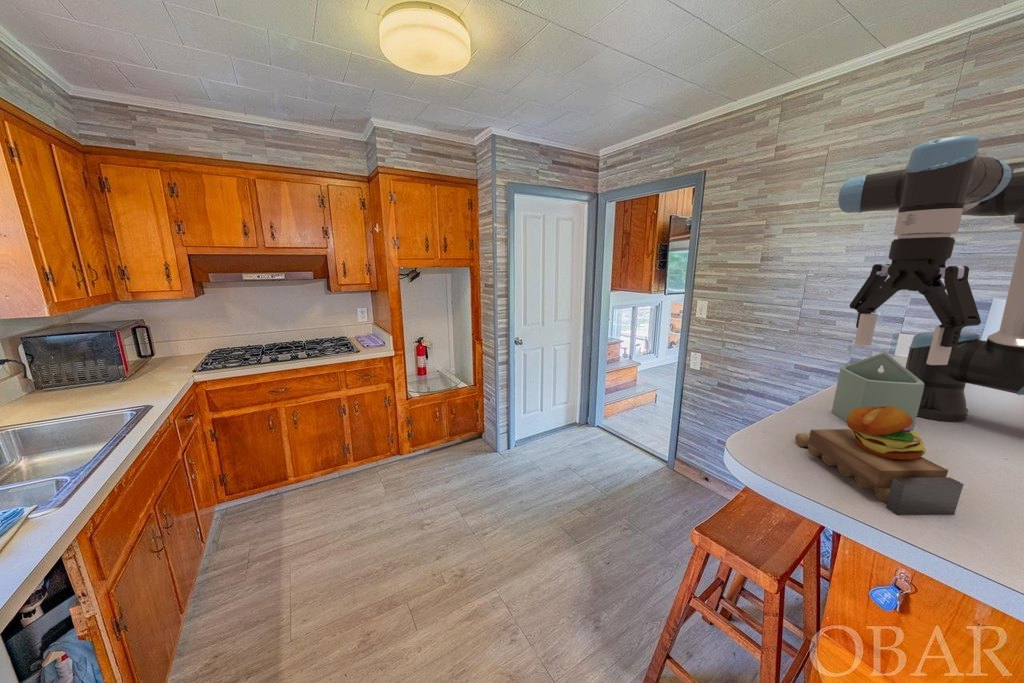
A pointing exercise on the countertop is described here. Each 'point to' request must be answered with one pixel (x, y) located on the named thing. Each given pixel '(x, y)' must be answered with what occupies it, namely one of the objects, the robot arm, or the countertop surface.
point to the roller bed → (841, 467)
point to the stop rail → (924, 496)
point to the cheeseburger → (885, 432)
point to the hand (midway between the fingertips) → (896, 354)
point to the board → (870, 459)
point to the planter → (877, 387)
